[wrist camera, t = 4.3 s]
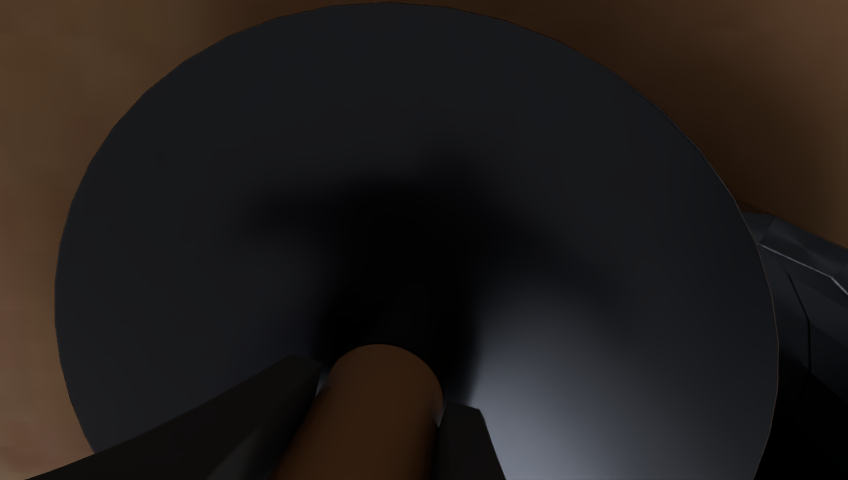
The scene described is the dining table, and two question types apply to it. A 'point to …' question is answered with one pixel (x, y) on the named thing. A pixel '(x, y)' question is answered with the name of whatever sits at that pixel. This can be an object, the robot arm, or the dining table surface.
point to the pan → (805, 350)
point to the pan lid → (420, 255)
